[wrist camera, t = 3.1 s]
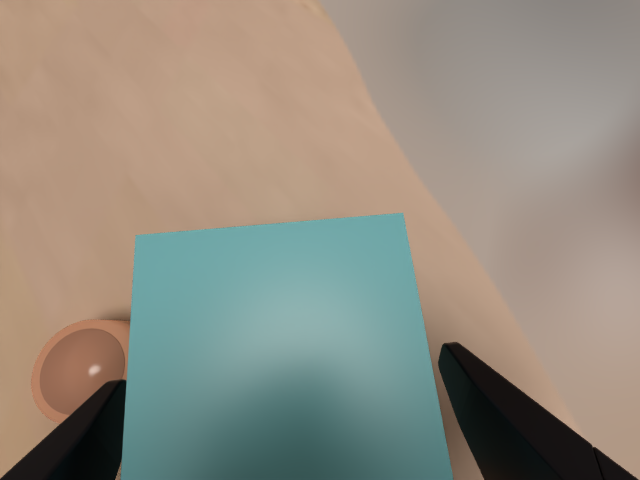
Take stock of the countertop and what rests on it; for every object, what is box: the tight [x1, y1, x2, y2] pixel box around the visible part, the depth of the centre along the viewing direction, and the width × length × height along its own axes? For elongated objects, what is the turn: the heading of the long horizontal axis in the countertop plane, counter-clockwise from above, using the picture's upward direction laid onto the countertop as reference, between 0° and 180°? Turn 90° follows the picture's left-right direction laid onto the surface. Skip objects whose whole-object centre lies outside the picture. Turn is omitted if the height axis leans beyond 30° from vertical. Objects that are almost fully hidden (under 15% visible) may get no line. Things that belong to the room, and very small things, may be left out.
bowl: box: [31, 320, 130, 423], centre depth 15 cm, size 4×4×2 cm
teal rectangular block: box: [121, 213, 453, 480], centre depth 12 cm, size 7×7×9 cm
